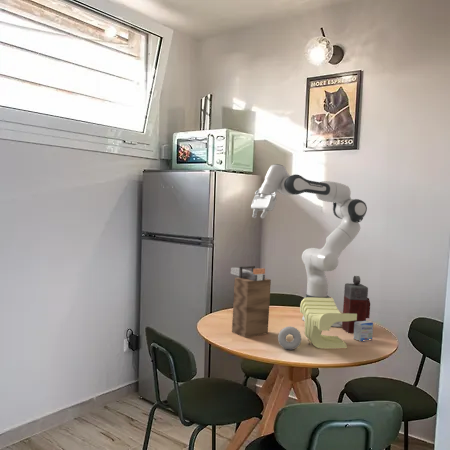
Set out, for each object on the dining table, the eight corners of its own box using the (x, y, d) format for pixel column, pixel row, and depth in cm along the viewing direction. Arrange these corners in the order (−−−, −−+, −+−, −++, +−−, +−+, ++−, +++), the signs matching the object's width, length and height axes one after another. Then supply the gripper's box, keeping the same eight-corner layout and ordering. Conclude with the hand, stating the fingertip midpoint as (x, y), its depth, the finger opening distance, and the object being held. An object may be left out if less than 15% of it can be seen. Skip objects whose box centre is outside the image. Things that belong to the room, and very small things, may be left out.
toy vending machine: (369, 333, 223) (373, 278, 221) (347, 333, 222) (351, 277, 220) (362, 328, 232) (366, 274, 230) (341, 328, 231) (345, 274, 229)
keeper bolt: (228, 273, 223) (229, 263, 222) (238, 273, 226) (238, 262, 226) (254, 280, 207) (255, 269, 206) (264, 280, 210) (265, 268, 210)
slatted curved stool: (298, 333, 217) (300, 297, 216) (330, 334, 219) (332, 298, 218) (317, 354, 187) (320, 312, 186) (354, 355, 189) (357, 313, 188)
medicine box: (359, 342, 208) (361, 323, 208) (353, 339, 212) (354, 321, 212) (372, 340, 212) (373, 322, 211) (365, 337, 216) (366, 319, 215)
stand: (231, 331, 214) (235, 266, 212) (254, 328, 222) (257, 265, 220) (245, 337, 206) (248, 270, 204) (267, 333, 214) (271, 268, 212)
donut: (300, 348, 194) (301, 326, 193) (301, 351, 190) (302, 328, 190) (276, 347, 194) (278, 324, 193) (277, 350, 190) (279, 327, 190)
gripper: (282, 195, 222) (272, 220, 221) (264, 196, 241) (254, 219, 240) (271, 189, 220) (261, 215, 219) (254, 191, 239) (244, 215, 238)
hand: (257, 217), depth 229 cm, fingers open, 8 cm apart
